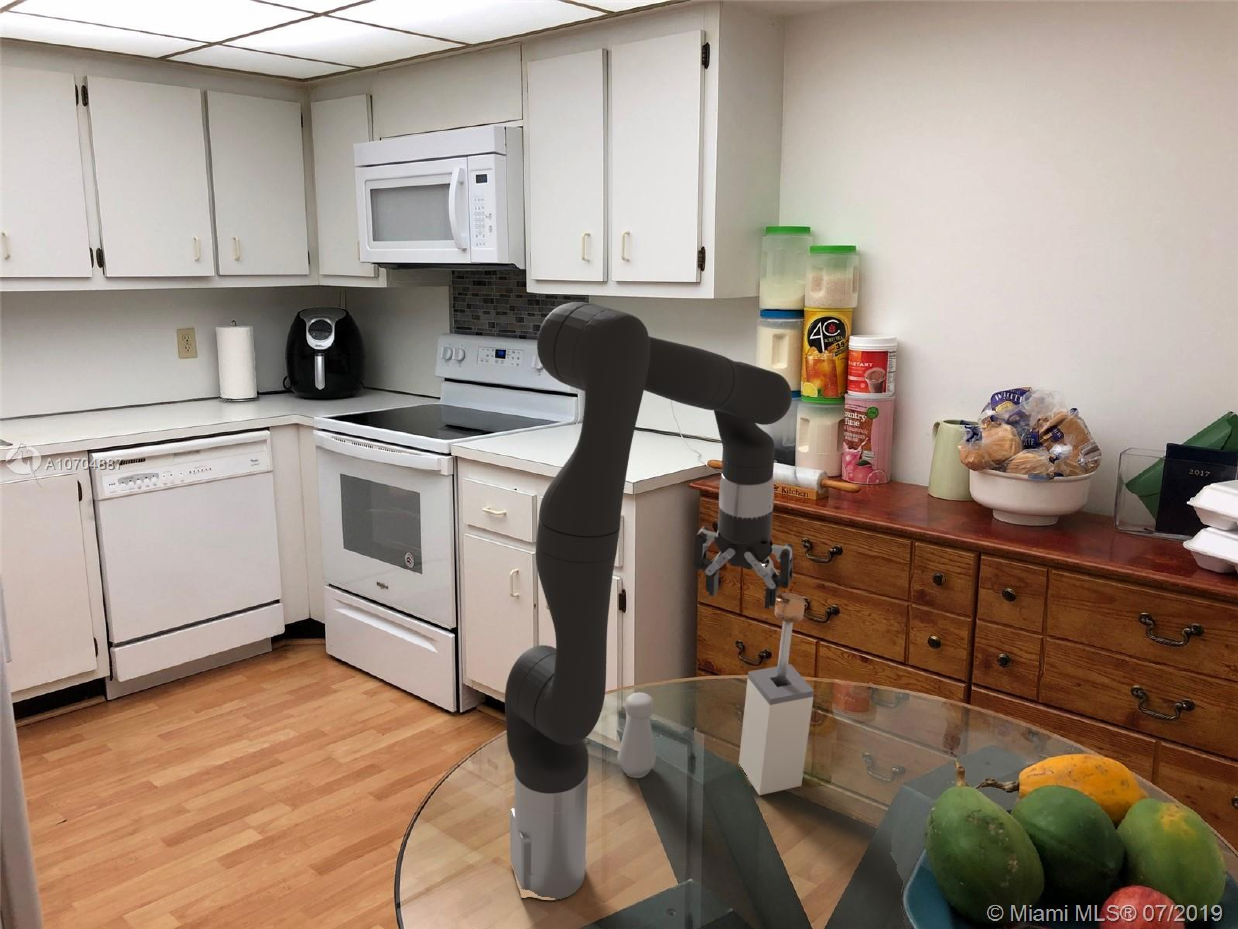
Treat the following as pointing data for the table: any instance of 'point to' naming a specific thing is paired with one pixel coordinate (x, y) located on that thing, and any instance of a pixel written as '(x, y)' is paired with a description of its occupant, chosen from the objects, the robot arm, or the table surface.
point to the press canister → (775, 730)
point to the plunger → (787, 628)
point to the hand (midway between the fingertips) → (741, 599)
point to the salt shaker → (637, 736)
